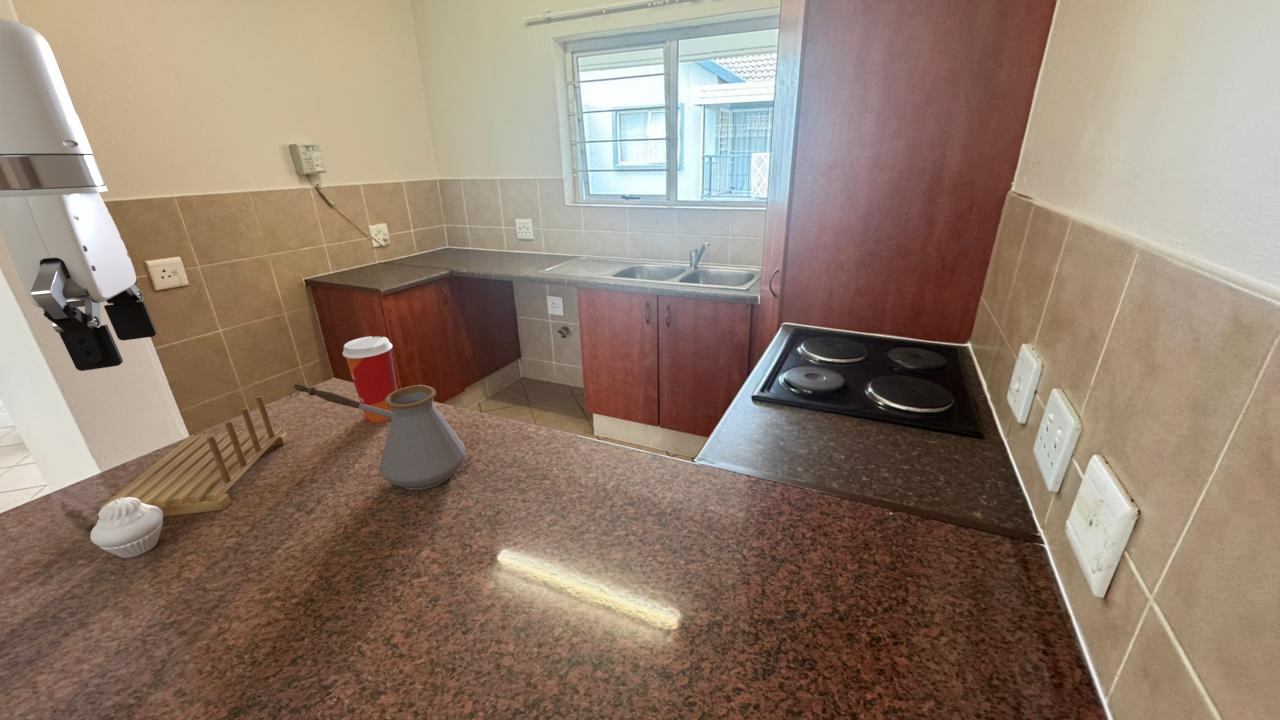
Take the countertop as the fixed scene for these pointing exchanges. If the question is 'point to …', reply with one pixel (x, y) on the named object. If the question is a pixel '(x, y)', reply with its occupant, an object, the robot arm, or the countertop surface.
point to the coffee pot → (410, 437)
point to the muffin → (127, 527)
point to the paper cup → (372, 372)
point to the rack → (203, 468)
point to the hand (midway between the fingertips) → (121, 351)
